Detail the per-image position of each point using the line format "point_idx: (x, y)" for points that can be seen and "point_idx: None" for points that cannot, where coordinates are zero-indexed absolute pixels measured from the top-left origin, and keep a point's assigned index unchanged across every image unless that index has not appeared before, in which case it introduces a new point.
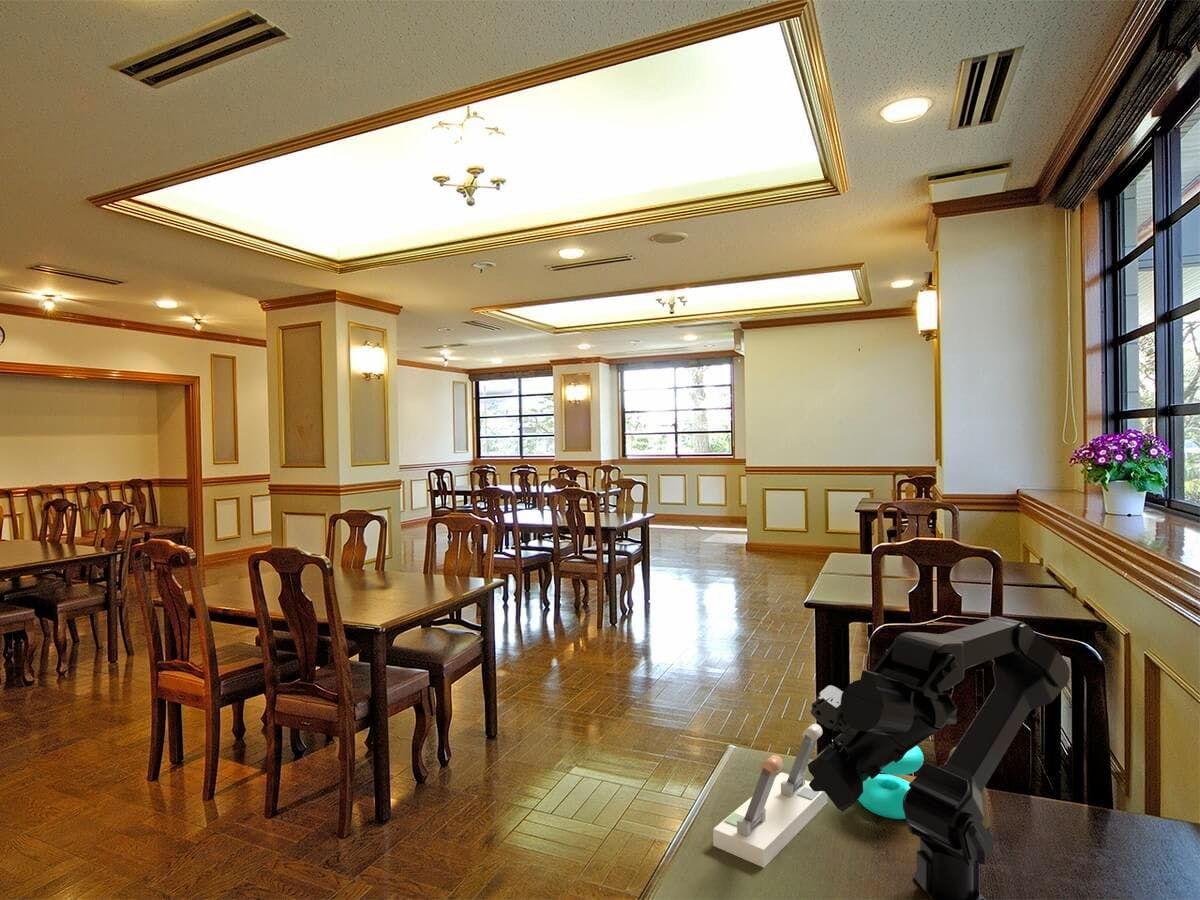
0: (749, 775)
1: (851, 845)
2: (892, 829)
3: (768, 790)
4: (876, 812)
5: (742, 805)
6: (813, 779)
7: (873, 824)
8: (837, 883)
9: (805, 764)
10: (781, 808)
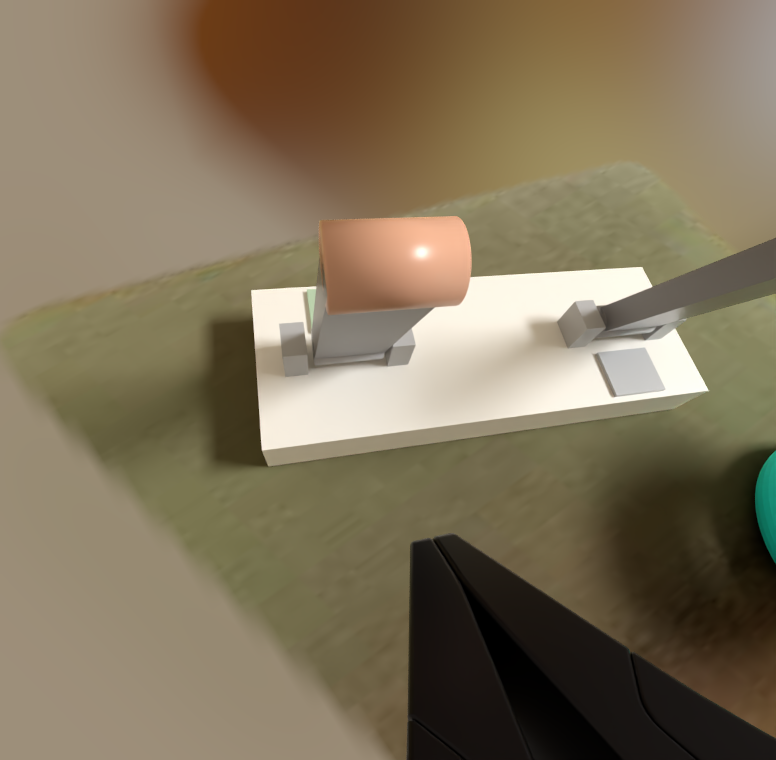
0: (582, 222)
1: (575, 582)
2: (756, 624)
3: (384, 329)
4: (768, 546)
5: None
6: (409, 598)
7: (719, 564)
8: (371, 681)
9: (698, 310)
10: (499, 361)
